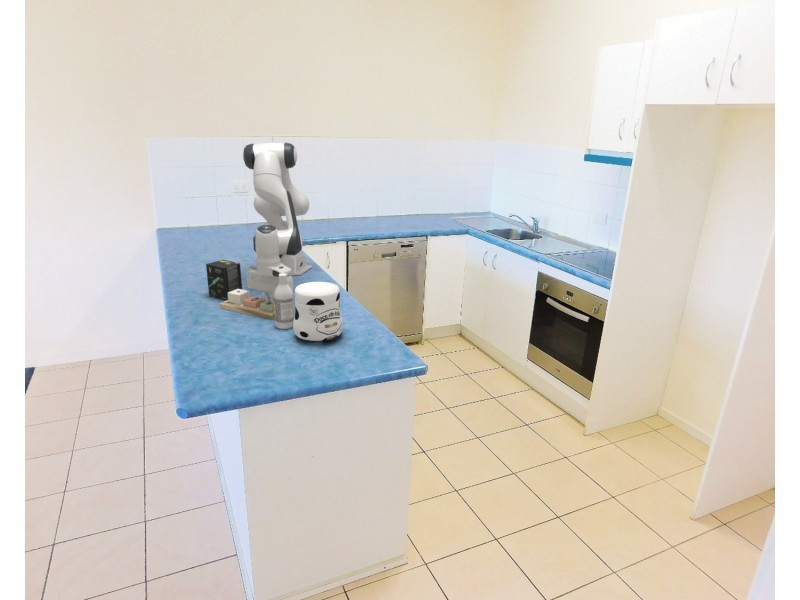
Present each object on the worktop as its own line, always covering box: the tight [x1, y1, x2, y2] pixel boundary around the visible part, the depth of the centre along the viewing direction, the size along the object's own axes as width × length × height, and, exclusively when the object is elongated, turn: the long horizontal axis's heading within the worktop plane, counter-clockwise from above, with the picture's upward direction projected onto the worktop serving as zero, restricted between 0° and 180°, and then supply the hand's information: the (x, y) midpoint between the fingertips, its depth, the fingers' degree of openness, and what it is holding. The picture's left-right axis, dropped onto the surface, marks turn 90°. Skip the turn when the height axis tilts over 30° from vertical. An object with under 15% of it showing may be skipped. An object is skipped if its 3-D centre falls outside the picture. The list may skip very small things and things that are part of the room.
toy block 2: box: [243, 295, 266, 309], centre depth 213 cm, size 6×6×4 cm
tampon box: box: [205, 259, 243, 302], centre depth 225 cm, size 11×9×15 cm
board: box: [218, 296, 275, 321], centre depth 213 cm, size 12×26×2 cm, turn 65°
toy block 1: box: [228, 288, 251, 305], centre depth 215 cm, size 6×6×4 cm
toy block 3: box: [260, 301, 275, 312], centre depth 210 cm, size 6×6×4 cm
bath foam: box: [274, 273, 295, 330], centre depth 195 cm, size 7×7×20 cm
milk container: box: [292, 281, 344, 343], centre depth 187 cm, size 17×17×18 cm
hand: (270, 302), depth 209 cm, fingers closed, pressing on toy block 3
